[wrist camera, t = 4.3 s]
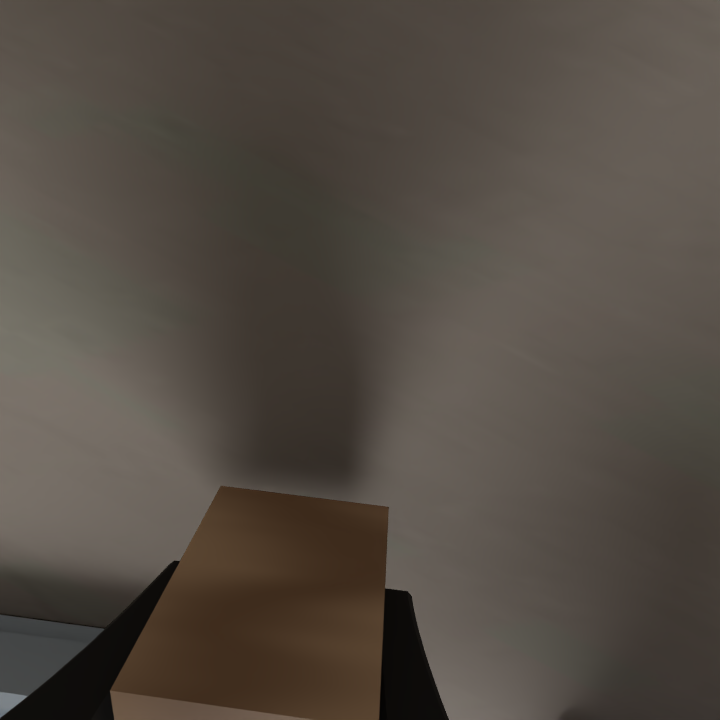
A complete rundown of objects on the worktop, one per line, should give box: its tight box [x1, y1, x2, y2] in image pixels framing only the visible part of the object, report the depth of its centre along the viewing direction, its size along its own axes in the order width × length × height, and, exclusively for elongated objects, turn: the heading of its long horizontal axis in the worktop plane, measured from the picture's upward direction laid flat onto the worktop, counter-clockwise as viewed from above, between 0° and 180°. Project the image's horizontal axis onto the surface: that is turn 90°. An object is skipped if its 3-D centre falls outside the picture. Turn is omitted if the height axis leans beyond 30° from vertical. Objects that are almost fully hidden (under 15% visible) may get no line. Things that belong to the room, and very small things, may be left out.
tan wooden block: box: [110, 486, 389, 720], centre depth 11 cm, size 4×4×5 cm
